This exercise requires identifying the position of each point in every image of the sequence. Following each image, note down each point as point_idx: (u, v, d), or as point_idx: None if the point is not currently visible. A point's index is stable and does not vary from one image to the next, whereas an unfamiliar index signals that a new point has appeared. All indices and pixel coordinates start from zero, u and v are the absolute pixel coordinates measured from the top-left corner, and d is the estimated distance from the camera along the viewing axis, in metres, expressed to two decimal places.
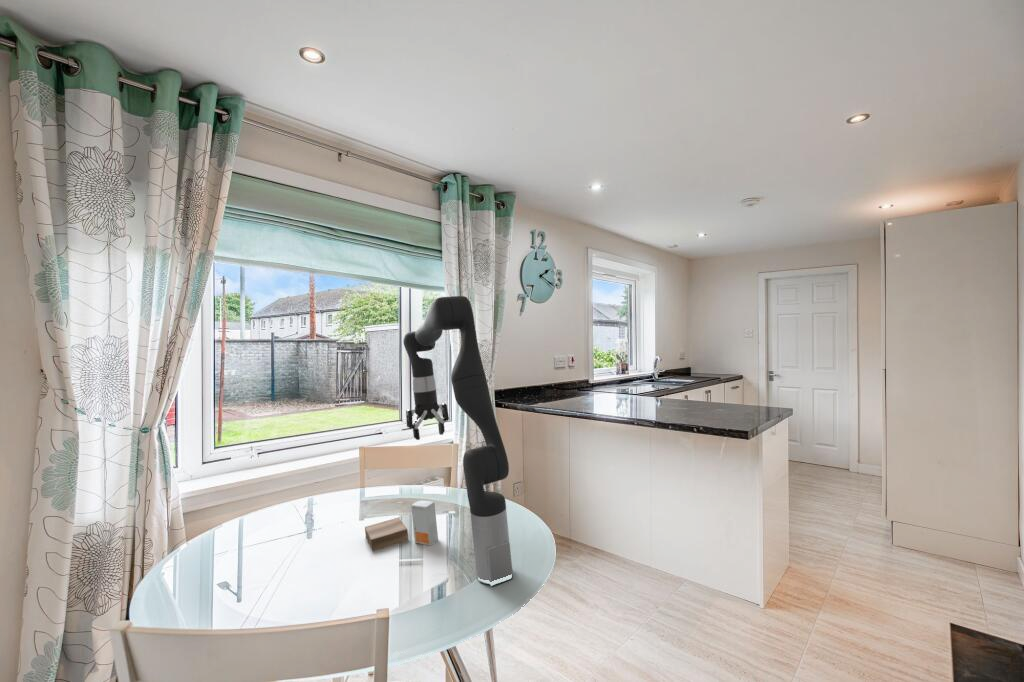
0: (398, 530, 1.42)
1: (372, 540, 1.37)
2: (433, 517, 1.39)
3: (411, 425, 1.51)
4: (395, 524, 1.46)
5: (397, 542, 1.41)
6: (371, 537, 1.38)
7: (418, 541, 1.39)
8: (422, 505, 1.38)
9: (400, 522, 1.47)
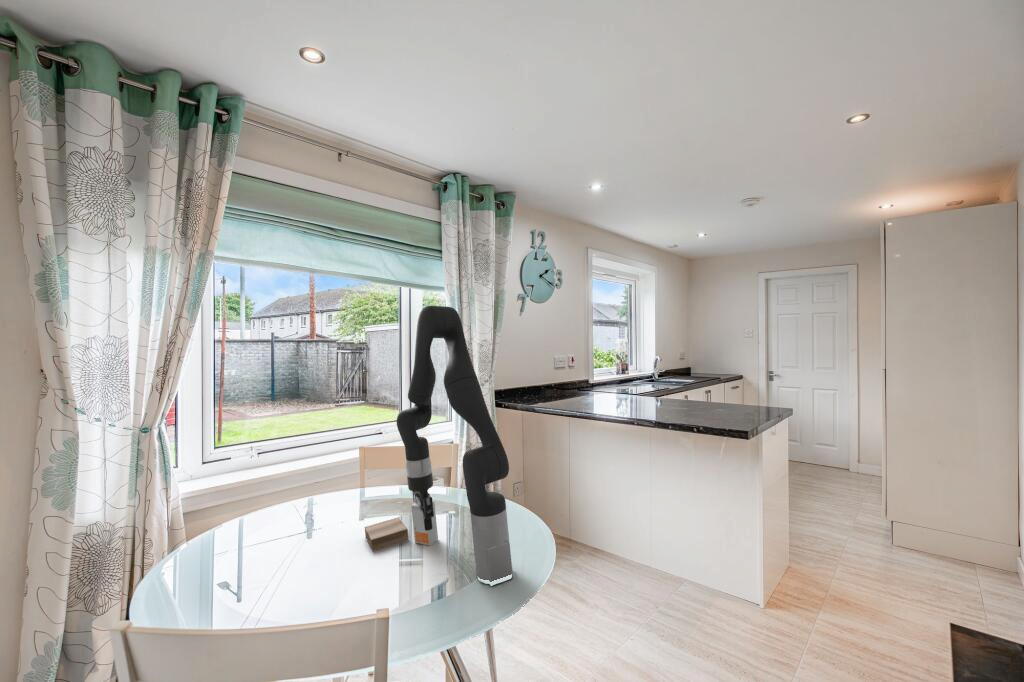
0: (398, 530, 1.42)
1: (372, 540, 1.37)
2: (433, 517, 1.39)
3: None
4: (395, 524, 1.46)
5: (397, 542, 1.41)
6: (371, 537, 1.38)
7: (418, 541, 1.39)
8: None
9: (400, 522, 1.47)
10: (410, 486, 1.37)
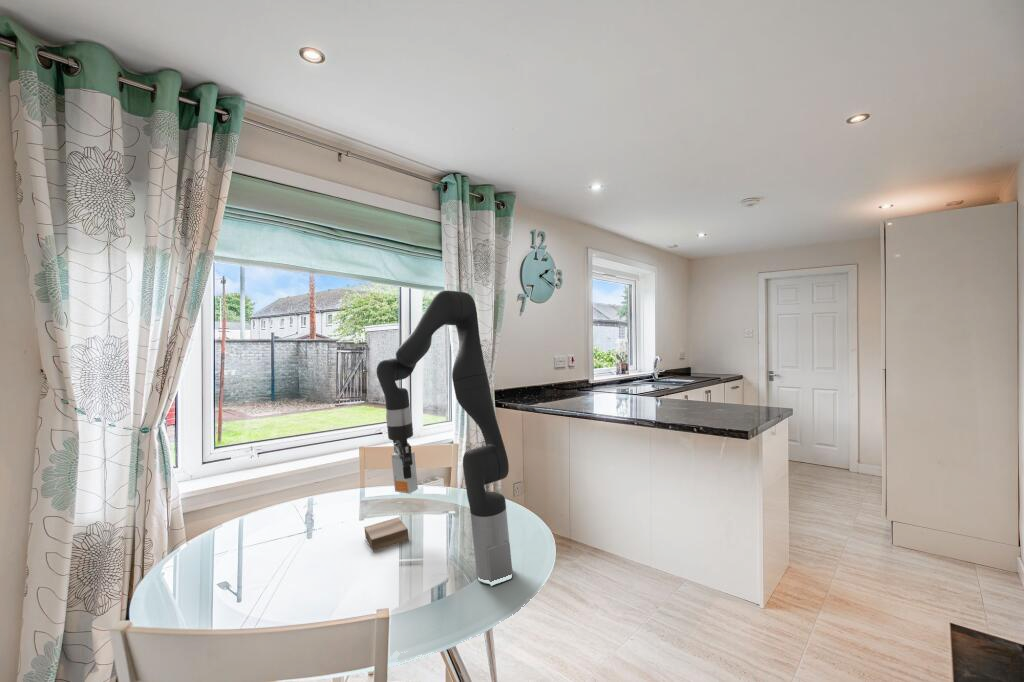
0: (398, 530, 1.42)
1: (373, 540, 1.37)
2: (413, 467, 1.41)
3: None
4: (395, 524, 1.46)
5: (397, 542, 1.41)
6: (371, 537, 1.38)
7: (398, 490, 1.41)
8: None
9: (400, 522, 1.47)
10: (390, 435, 1.38)
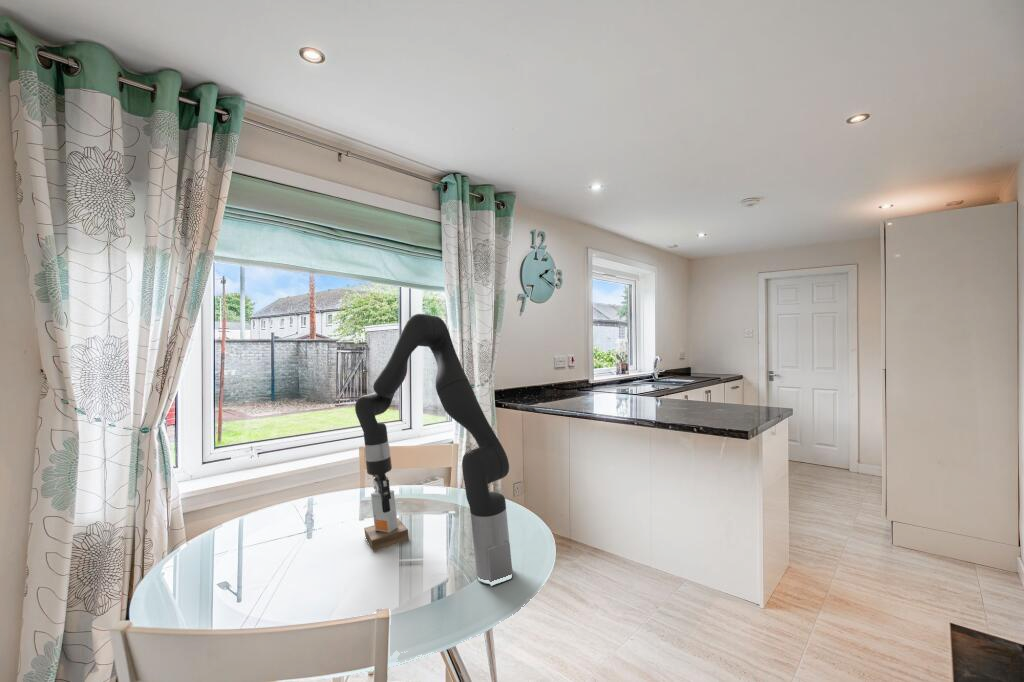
0: (399, 530, 1.42)
1: (373, 541, 1.37)
2: (393, 505, 1.43)
3: None
4: None
5: (398, 542, 1.41)
6: (372, 538, 1.38)
7: (378, 529, 1.43)
8: None
9: (400, 523, 1.48)
10: (368, 469, 1.41)
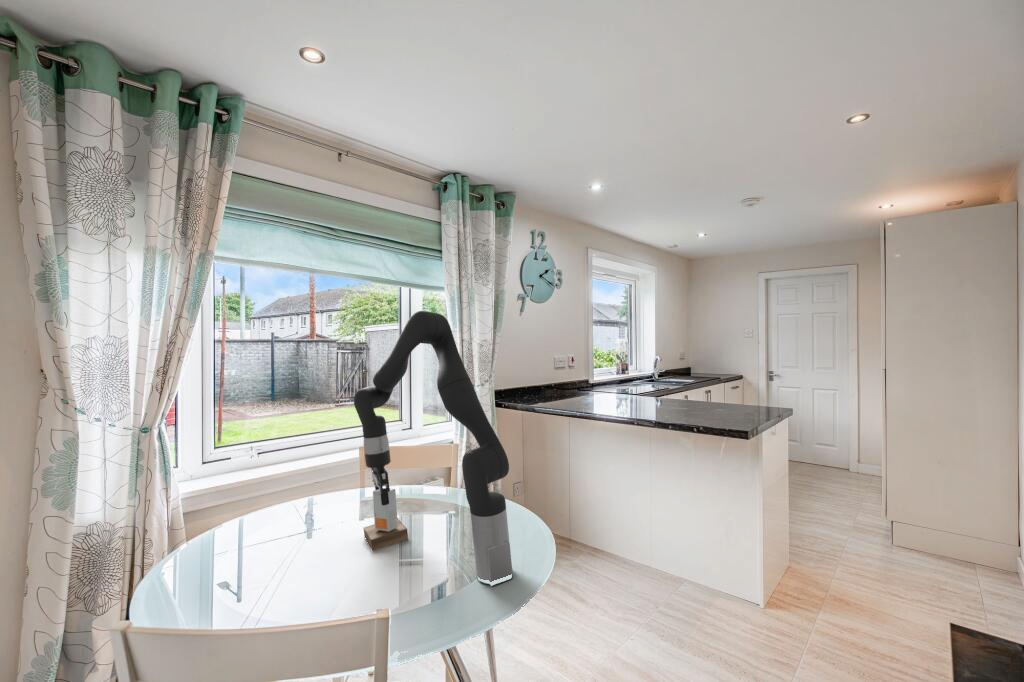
0: (398, 529, 1.42)
1: (372, 540, 1.37)
2: (393, 504, 1.43)
3: None
4: None
5: (397, 542, 1.41)
6: (371, 537, 1.39)
7: (378, 528, 1.42)
8: None
9: (399, 522, 1.48)
10: (367, 462, 1.40)
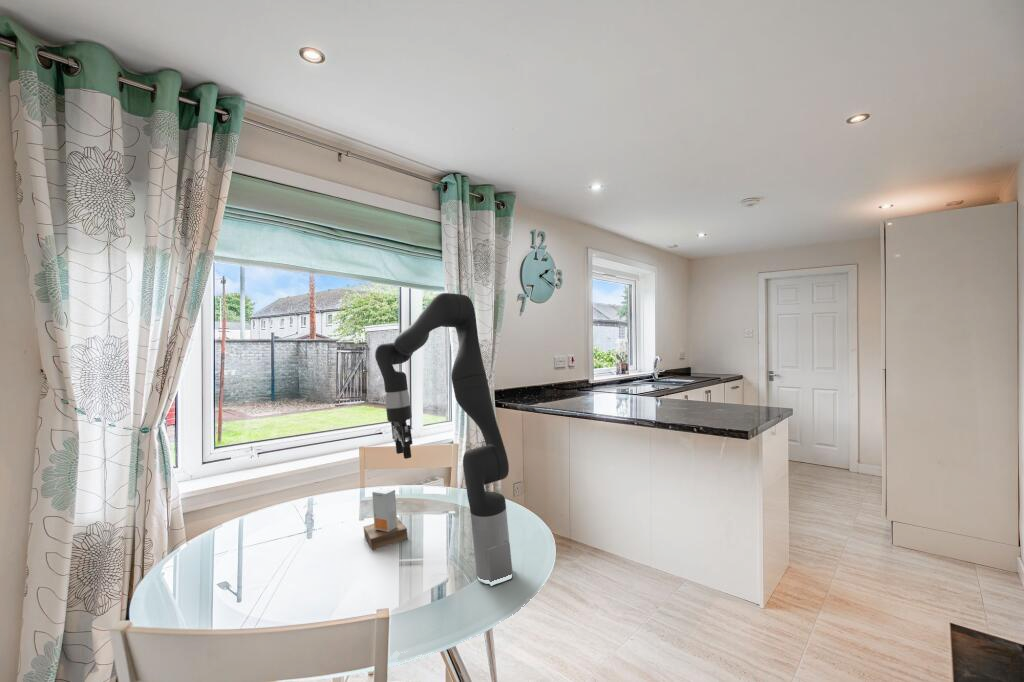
0: (397, 529, 1.43)
1: (372, 539, 1.38)
2: (393, 505, 1.43)
3: None
4: None
5: (396, 541, 1.41)
6: (371, 536, 1.39)
7: (377, 527, 1.43)
8: (382, 492, 1.42)
9: (399, 522, 1.48)
10: (389, 417, 1.42)
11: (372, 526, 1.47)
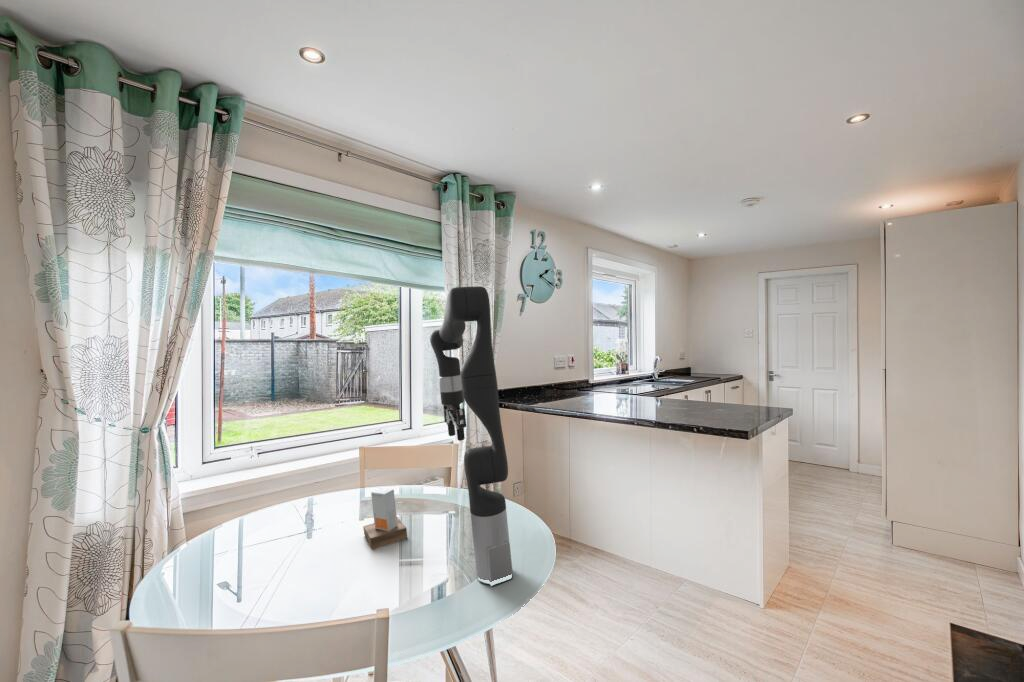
0: (397, 529, 1.43)
1: (372, 539, 1.38)
2: (392, 504, 1.44)
3: None
4: None
5: (396, 541, 1.42)
6: (370, 536, 1.40)
7: (378, 527, 1.44)
8: (381, 492, 1.43)
9: (399, 521, 1.49)
10: (443, 400, 1.48)
11: (372, 525, 1.47)
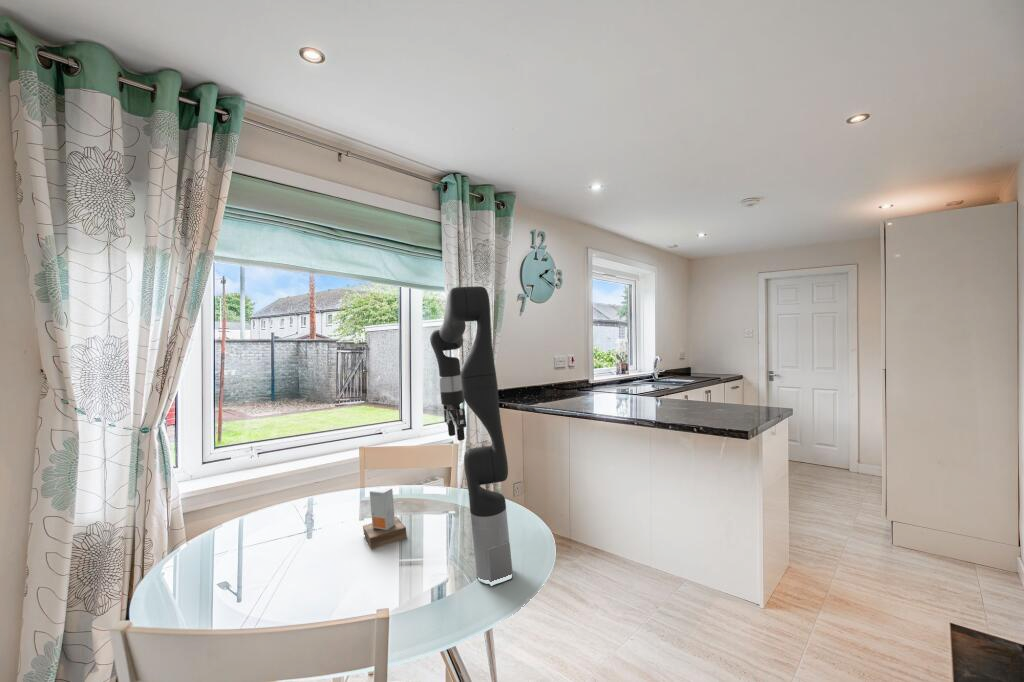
0: (397, 528, 1.43)
1: (371, 539, 1.39)
2: (391, 503, 1.45)
3: None
4: None
5: (396, 540, 1.42)
6: (370, 536, 1.40)
7: (375, 526, 1.44)
8: (380, 491, 1.44)
9: (398, 521, 1.49)
10: (443, 400, 1.48)
11: (371, 525, 1.48)
